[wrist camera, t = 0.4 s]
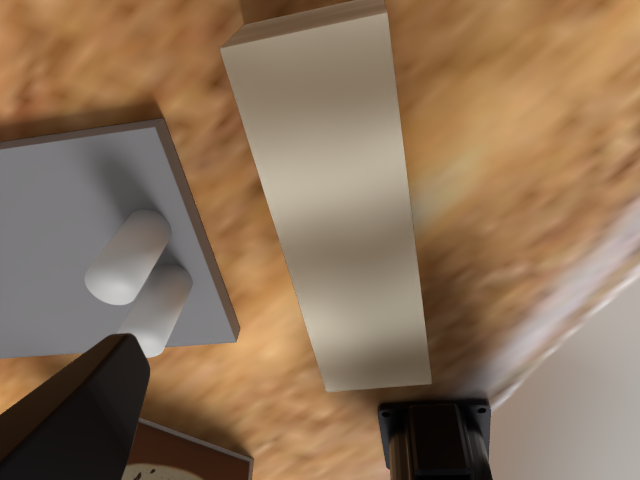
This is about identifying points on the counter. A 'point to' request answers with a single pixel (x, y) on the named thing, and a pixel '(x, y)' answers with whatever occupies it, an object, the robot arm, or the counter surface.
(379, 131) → the beige marbled block
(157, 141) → the peg stand
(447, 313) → the counter surface
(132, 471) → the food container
